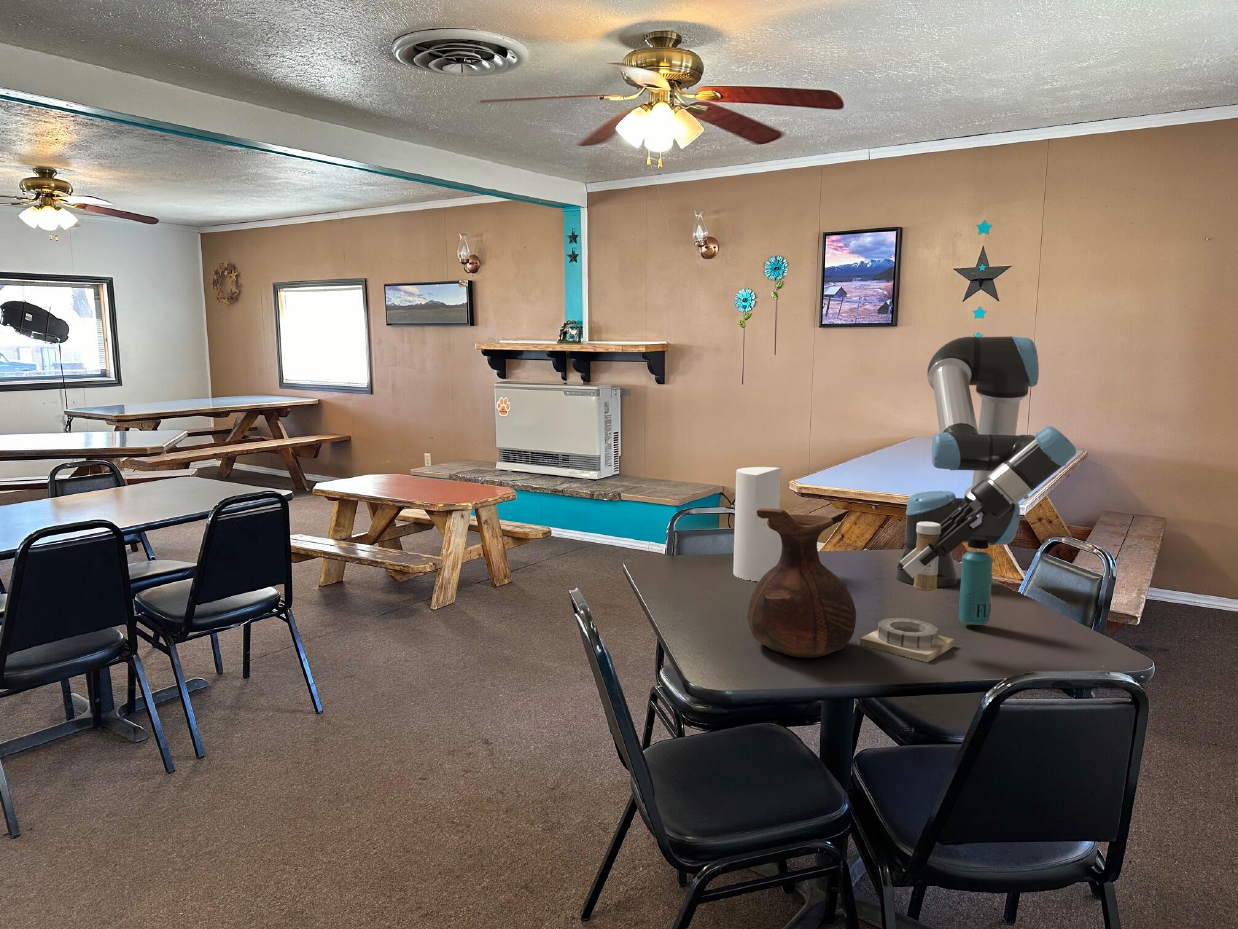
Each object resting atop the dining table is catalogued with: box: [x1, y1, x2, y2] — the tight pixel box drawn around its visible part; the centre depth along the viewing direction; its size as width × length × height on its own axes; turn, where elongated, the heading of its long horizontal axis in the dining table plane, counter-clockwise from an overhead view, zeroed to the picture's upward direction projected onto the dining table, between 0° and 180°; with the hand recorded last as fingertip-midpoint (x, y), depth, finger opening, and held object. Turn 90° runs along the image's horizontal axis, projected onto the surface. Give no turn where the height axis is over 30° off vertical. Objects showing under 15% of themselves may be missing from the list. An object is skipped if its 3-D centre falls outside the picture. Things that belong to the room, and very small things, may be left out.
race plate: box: [859, 617, 955, 663], centre depth 172 cm, size 13×14×4 cm
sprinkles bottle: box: [912, 522, 941, 592], centre depth 168 cm, size 5×5×13 cm
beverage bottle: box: [957, 536, 994, 626], centre depth 183 cm, size 6×7×20 cm
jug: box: [747, 508, 857, 659], centre depth 168 cm, size 22×22×30 cm
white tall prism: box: [732, 466, 782, 583], centre depth 225 cm, size 17×17×28 cm
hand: (906, 569), depth 170 cm, fingers closed on sprinkles bottle, 4 cm apart
